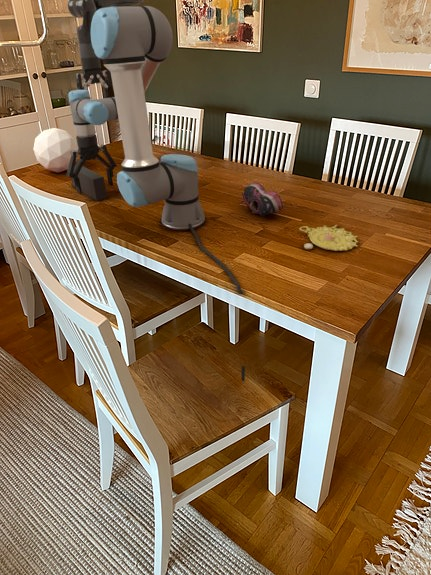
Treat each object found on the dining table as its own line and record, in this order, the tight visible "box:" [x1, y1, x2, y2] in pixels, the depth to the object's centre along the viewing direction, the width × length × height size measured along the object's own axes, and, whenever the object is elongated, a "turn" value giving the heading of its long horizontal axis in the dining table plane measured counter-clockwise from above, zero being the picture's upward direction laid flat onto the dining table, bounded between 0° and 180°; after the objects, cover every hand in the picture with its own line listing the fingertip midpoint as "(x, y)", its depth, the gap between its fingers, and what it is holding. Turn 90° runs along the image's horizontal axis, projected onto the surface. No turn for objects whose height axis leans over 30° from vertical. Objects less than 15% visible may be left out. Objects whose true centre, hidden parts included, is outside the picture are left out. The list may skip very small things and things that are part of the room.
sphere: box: [32, 127, 78, 173], centre depth 205 cm, size 19×20×20 cm
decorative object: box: [299, 224, 359, 252], centre depth 141 cm, size 21×2×20 cm
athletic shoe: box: [238, 182, 284, 217], centre depth 160 cm, size 11×22×12 cm
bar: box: [70, 164, 108, 202], centre depth 182 cm, size 23×5×9 cm, turn 39°
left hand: (96, 99), depth 185 cm, fingers open, 8 cm apart
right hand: (95, 189), depth 178 cm, fingers open, 13 cm apart
